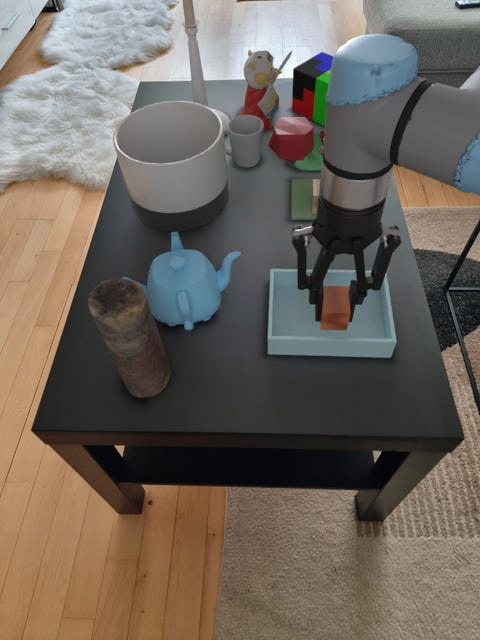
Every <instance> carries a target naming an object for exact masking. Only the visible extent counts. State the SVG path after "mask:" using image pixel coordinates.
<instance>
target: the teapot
mask: <svg viewBox="0 0 480 640" xmlns="http://www.w3.org/2000/svg"><path fill="white" fill-rule="evenodd" d="M170 237H171V238H170V239H171V245H170V246H171V248H170V251H167V252H164V253H162V254H159V255H157V256H156V257H155V258H153V259H152V262H151V264H150V267H149V270H148V276H147V283H146V285H145V284H143V283H141V282H138V281H136V280H134V279H132V278H130V277H127V276H123V277H121V279H128V280H131V281H135V282H137V283H138V284H140V285H141V287H142V288H143V289H144V291H145V293H146V297H147V299H148V302H149V306H150V309H151V312H152V314H153V318H154V319H156V320H157V321H159V322H161V323H163V324H167V325H168V326H170V327H175V326H177V325H183V326H184V327H183V328H184V330H185V331H191V330H193V329H194V323H198V322H200V321H204V322H205V321H206V322H207V321H209V320H210V319H211V318H212V316H213V315H214V314H215V313H216V312H217V311H218V310H219V308H220V306H221V303H222V292H223V291H224V290H225V289H226V288H227V287H228V285H229V284H230V282H231V276H232V264H233V262H234V261H235V260H236V259H237V258H238V257H239V256H240V255H241V253H242V252H241V251H240V250H237V251H233V252H230V253H228V254H226V256H225V257H224V259H223V260H222V266H221V268H220V269H219V270H217V271H216V270H215V267H214V265H213V263H212V262H211V261H210V260H209V258H208V257H207V256H206V255H205V254H203V252H202V251H200V250H197V249H185V248H184V245H183V242H182V240H181V238H180V235H179V231H170Z"/></svg>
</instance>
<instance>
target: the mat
mask: <svg viewBox="0 0 480 640" xmlns="http://www.w3.org/2000/svg"><path fill="white" fill-rule="evenodd" d="M313 179H314V178H291V207H290V208H291V209H290V211H291V214H290V215H291V216H290V219H291V221H292V220H293V221H314V220H315V219H316V217H317V214H312V204H311V195H312V183H313Z"/></svg>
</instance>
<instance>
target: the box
mask: <svg viewBox="0 0 480 640" xmlns="http://www.w3.org/2000/svg"><path fill="white" fill-rule="evenodd" d="M312 271H313V269H308V268H307V271H306V275H308V276H310V273H312ZM371 271H372V269H369V270H367V269H365V274H366V276H370V274H371ZM351 280H356V282H357V278H356V269H328V271H327V274H326V276H325V278H324V280H323V286H349V288H350V282H351ZM268 294H269V295H268V298H269V299H268V321H267V322H268V323H267V355H278V356H279V355H280V356H286V355H287V356H312V357H313V356H315V357H348V358H349V357H350V358H352V357H354V358H385V359H386V358H387V359H389V358H392V356H393V353H394V350H395V347H396V345H397V335H396V326H395V322H394V321H395V320H394V314H393V307H392V300H391V294H390V286H389V280H388V273H387V272H386V275H385V278H384V281H383V284H382V287H381V289H380V290H378V291H374V290H372V289H369V290H367V296H366V297H365V298H364V301H363V304H362V305H355V310H354V315H353V319H352V322H349V323H348V328H347V331H346V330H320V322H315V305H314V304H310V303H309V290H308V289H305V290H299V289H298V285H297V269H296V268H270V271H269V293H268Z"/></svg>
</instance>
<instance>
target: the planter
mask: <svg viewBox="0 0 480 640" xmlns="http://www.w3.org/2000/svg"><path fill="white" fill-rule="evenodd" d="M211 109H212V108H211ZM211 109H210V107H209V108H208V107H206V106H204V105H201V104H198V103H193V101H188V100H187V101H185V100H169V101H160V102H156V103H151V104H148V105H145V106H142V107H140V108H138V109H136V110H134V111H132V112H131V113H129V114H128V115H126V116H125V117H124V118H122V119H121V121H120V122H118V124H117V126H116V127H115V129H114V131H113V135H112V142H113V144H112V145H113V147H114V150H115V153H116V158H117V160H118V164H119V167H120V169H121V170H120V171H121V174H122V178H123V181H124V183H125V187H126V189H127V193H128V198H129V199H130V203H131V207H132V209H133V212H134V214H135V216H136V217H137V218H138V219H139V221H140V222H141V223H143V224H145V225H147V226H149V227H150V228H153V229H157V230H159V231H166V232H183V231H184V232H185V231H189V230H193V229H198V228H199V227H202V226H205V225H207V224H209V223H211V222H212V221H214V220H215V219H216V218H217V217H219V216H220V215H221V214H222V212H223V211H224V210H225V208H226V207H227V205H228V202H229V198H230V187H229V176H228V164H227V154H226V153H225V148H226V143H225V135H224V130H223V123H222V121H221V119H220V117H219V116H218V115H217V114H216V113H215V112H214V111H213V110H211Z"/></svg>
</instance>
